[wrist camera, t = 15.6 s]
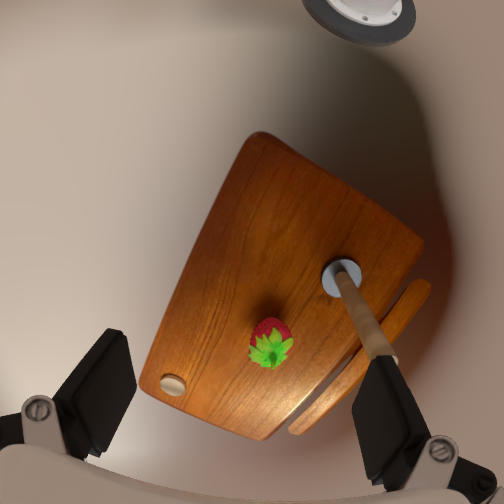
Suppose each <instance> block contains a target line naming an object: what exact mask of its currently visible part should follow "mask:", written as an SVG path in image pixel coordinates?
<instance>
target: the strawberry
mask: <svg viewBox="0 0 504 504" xmlns="http://www.w3.org/2000/svg"><path fill="white" fill-rule="evenodd" d="M253 331H254V332H253V333H252V335H251V339H250V340H251V342H250V345H249V348H250V349H249V353H248V355H249V357H250V359H251V360H252V361H253V362H254V363H256V364H258V365H260V366H262V367H271V370H273V369H274V368H275V367H276V366H277V365H279V364H281V362H282V361H284V360H285V359H286V358H287V354H288V353H289V352H290V350H291V349H292V344H293V337H292V335H291V333H290V330H289V329H288V327H287V326H286V325H285V324H284V323H283V322H281V320H278V318H274V317H271V318H270V317H269V318H266V319H264V320H263V321H262V322H261V323H259V325H258V326H256V329H254V330H253Z"/></svg>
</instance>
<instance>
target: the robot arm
mask: <svg viewBox="0 0 504 504" xmlns="http://www.w3.org/2000/svg"><path fill="white" fill-rule="evenodd" d="M326 1H327V2H328V3H329V5H330V6H331V7H332V8H333V9H334V10H335V11H337V12H338V13H340V14H341V15H342V16H344V17H346V18H348V19H350V20H352V21H354V22H357V23H360V24H363V25H368V26H384V25H388V24H390V23H392V22H393V21H395V20H396V19H397V18H398V17H399V15H400V13H401V10H402V2H401V0H326ZM363 19H364V20H363ZM136 389H137V384H136V379H135V375H134V370H133V366H132V361H131V356H130V352H129V346H128V341H127V337H126V336H125V335H123V332H122V331H120V330H115V329H110V328H108V329H106V331H105V332H104V333H103V334H102V335H101V336H100V338H99V339H98V340H97V341H96V343H95V344H94V345H93V346H92V348H91V349H90V350H89V351H88V353H87V354H86V355H85V356H84V358H83V359H82V360H81V361H80V363H79V364H78V365H77V366H76V368H75V369H74V370H73V371H72V373H71V374H70V376H69V377H68V378H67V379H66V381H65V382H64V383H63V384H62V386H61V387H60V388H59V390H58V391H57V392H56V394H55V395H54V396H53V398H52V399H51V398H49V397H47V396H44V395H36V396H32V397H30V398H29V399H27V400H26V401H25V402H24V404H23V406H22V411H21V412H20V413H16V414H11V415H6V416H1V417H0V504H504V488H503V487H502V486H500V487H499V488H498V487H497V480H496V477H495V474H494V473H493V472H492V471H490V470H489V469H487V468H484V467H482V466H479V465H477V464H475V463H472V462H470V461H468V460H466V459H463V458H461V457H459V456H458V453H459V451H458V446H457V445H456V443H455V442H454V441H453V440H452V439H451V438H449V437H448V436H444V435H436V436H433V437H431V434H430V432H429V430H428V428H427V425H426V423H425V421H424V418H423V416H422V414H421V412H420V410H419V408H418V406H417V403H416V402H415V399H414V397H413V395H412V393H411V391H410V389H409V388H408V386H407V384H406V382H405V380H404V378H403V376H402V374H401V372H400V370H399V368H398V366H397V364H396V362H395V360H394V358H393V357H392V355H377V356H376V357H375V359H372V360H371V362H370V364H369V367H368V370H367V372H366V375H365V377H364V380H363V382H362V384H361V387H360V389H359V391H358V394H357V396H356V398H355V401H354V403H353V406H352V415H353V419H354V423H355V427H356V431H357V436H358V440H359V444H360V448H361V453H362V457H363V461H364V466H365V471H366V475H367V478H368V479H369V480H371V481H372V485H373V486H374V485H380V484H384V488H385V491H384V492H383V493H381V494H375V495H368V496H362V497H353V498H345V499H334V500H320V501H294V502H293V501H292V502H291V501H289V502H287V501H254V500H242V499H231V498H223V497H214V496H208V495H202V494H196V493H190V492H185V491H180V490H175V489H171V488H166V487H162V486H158V485H154V484H150V483H147V482H143V481H140V480H136V479H133V478H130V477H126V476H123V475H120V474H117V473H114V472H111V471H108V470H106V469H103V468H100V467H97V466H95V465H92V464H89V463H87V461H86V458H87V456H88V454H91V455H93V456H96V457H98V458H99V457H100V455H101V453H102V452H106V451H107V449H108V447H109V445H110V443H111V441H112V438H113V436H114V434H115V432H116V430H117V428H118V426H119V424H120V422H121V420H122V418H123V416H124V414H125V412H126V410H127V408H128V406H129V404H130V402H131V400H132V398H133V396H134V394H135V392H136Z"/></svg>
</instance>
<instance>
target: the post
mask: <svg viewBox="0 0 504 504" xmlns="http://www.w3.org/2000/svg"><path fill="white" fill-rule="evenodd" d="M361 280H362V273H361V269H360V267H359V266H358V264H357V263H356V262H355V261H354V260H352V259H350V258H347V257H338V258H335V259H333V260H331V261H329V262H328V263H327V264H326V265H325V267H324V268H323V270H322V273H321V283H322V286H323V288H324V290H325V291H326V292H327V293H328V294H329V295H331V296H333V297H338V298H341V297H342V299H343V301H344V304H345V306H346V308H347V310H348V312H349V315H350V317H351V319H352V321H353V324H354V326H355V328H356V330H357V333H358V335H359V337H360V340H361V342H362V344H363V347H364V349H365V351H366V354H367V356H368V358H369V361H370V362H371V360H372V359H375V357H376V356H377V355H392V357H393V358H394V360H395V362H396V364H397V365H398V359H397V357H396V355H395V353H394V351H393V349H392V347H391V345H390V344H389V342H388V340H387V338H386V336H385V335H384V333H383V331H382V329H381V327H380V326H379V324H378V322H377V320H376V319H375V317H374V315H373V313H372V312H371V310H370V308H369V306H368V305H367V303H366V301H365V300H364V298H363V296H362V295H361V293H360V291H359V290H358V287H359V285H360V283H361Z"/></svg>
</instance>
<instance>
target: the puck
mask: <svg viewBox="0 0 504 504" xmlns="http://www.w3.org/2000/svg"><path fill="white" fill-rule="evenodd" d="M160 386H161V388H162V389H163V390H164V391H165V392H166V393H168V394H170V395H173V396H181V395H183V394H184V393H185V390H186V384H185V382H184V381H183V380H182V379H181V378H179V377H177V376H174V375H166V376H164V377H163V378H162V380H161V382H160Z"/></svg>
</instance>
